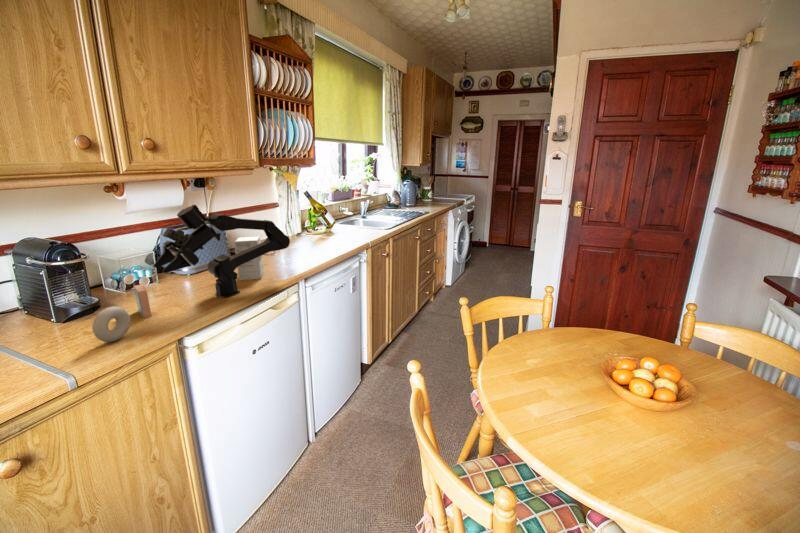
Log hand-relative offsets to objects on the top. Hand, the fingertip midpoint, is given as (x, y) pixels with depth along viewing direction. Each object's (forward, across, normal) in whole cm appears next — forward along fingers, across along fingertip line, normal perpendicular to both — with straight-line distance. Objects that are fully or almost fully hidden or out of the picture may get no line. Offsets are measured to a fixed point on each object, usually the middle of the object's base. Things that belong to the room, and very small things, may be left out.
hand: (159, 269), depth 124 cm
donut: (+22, +14, +4) cm, 27 cm away
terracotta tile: (+13, -2, +9) cm, 16 cm away
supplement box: (-25, -14, +32) cm, 43 cm away
